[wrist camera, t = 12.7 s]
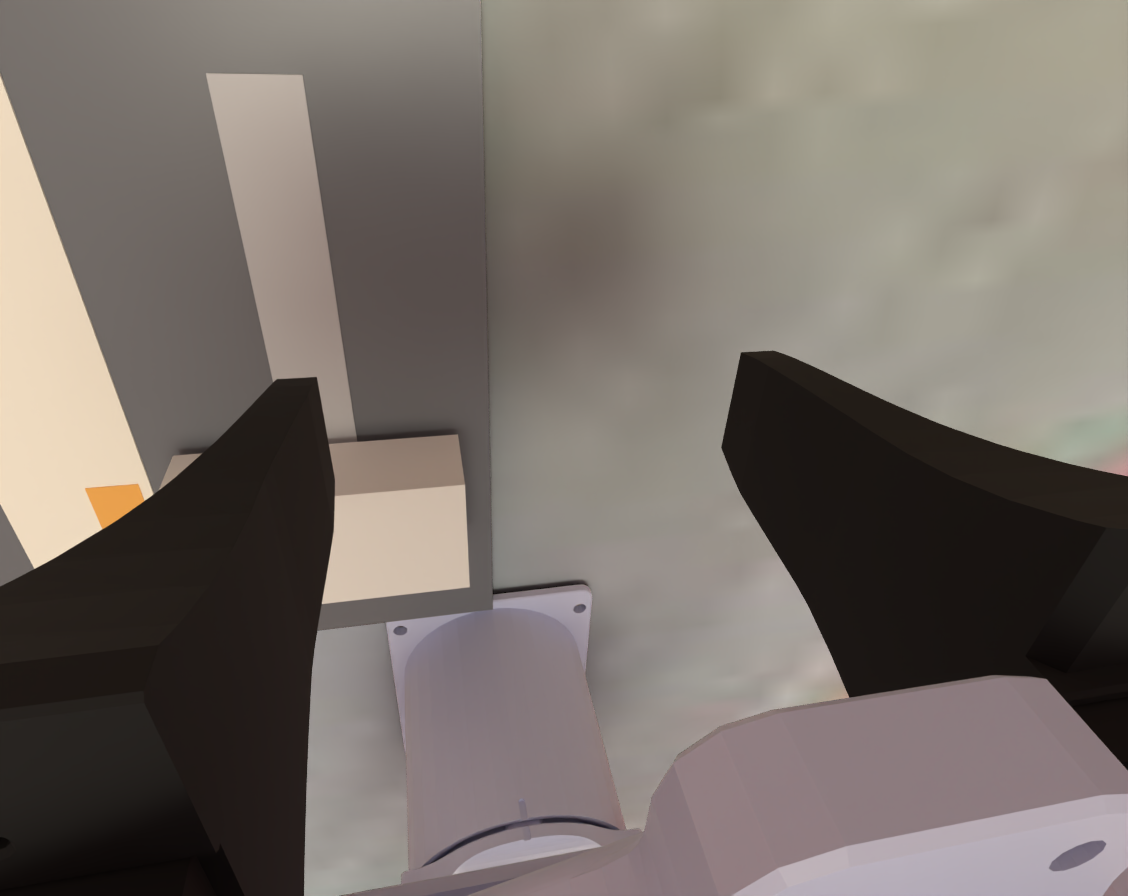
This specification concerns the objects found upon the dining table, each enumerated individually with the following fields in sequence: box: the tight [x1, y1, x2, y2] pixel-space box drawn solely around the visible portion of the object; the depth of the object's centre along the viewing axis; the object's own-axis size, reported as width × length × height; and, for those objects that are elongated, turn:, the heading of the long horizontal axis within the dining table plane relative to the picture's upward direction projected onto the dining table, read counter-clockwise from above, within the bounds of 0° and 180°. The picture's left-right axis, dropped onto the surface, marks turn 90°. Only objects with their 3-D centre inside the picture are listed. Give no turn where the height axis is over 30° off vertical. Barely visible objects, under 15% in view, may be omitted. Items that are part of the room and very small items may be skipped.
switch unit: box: [0, 0, 493, 631], centre depth 18 cm, size 24×24×1 cm
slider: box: [159, 434, 470, 604], centre depth 21 cm, size 4×8×2 cm, turn 88°
